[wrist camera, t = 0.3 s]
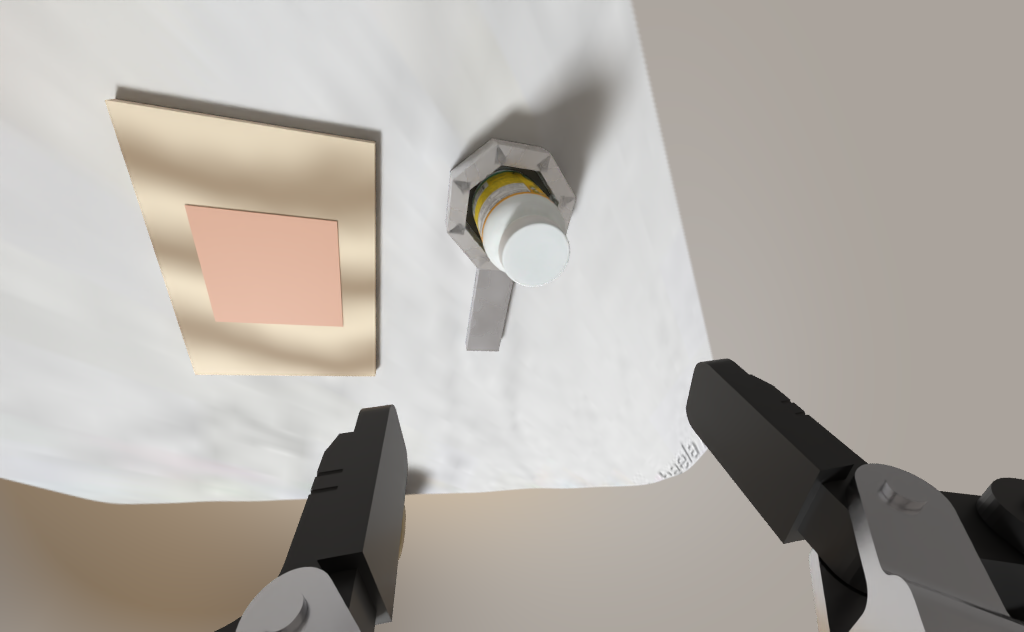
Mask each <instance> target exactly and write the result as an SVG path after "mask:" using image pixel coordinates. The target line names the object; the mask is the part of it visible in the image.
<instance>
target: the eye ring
mask: <svg viewBox="0 0 1024 632" xmlns="http://www.w3.org/2000/svg"><path fill="white" fill-rule="evenodd" d="M501 165H504V166H511V167H517V168H523V169H529V170H535V171H536V172H537V173H538V175H539V177H540V178H541V180H542V182H543V183H544V185H545V186H546V188H547V190H548V191H549V199H550V200H551V201H552V202H553V203H554V204H555V205H556V206H557V207H558V209H559V210H560V212H561V214H562V215H563V218H564V221H565V225H566V233H567V229H568V226H569V222H570V218H571V215H572V211H573V207H574V204H575V200H576V197H575V195H574V193H573V192H572V190H571V188H570V186H569V185H568V183H567V181H566V179H565V178H564V176H563V174H562V172H561V171H560V169H559V167H558V165H557V164H556V162H555V160H554V158H553V157H552V155H551V153H549V152H548V151H546V150H545V149H543V148H542V147H538V146H532V145H527V144H521V143H516V142H510V141H504V140H499V139H493V138H491V139H490V140H489V141H488V142H486V143H485V144H484V145H483V146H481V147H480V148H479V149H478V150H476V151H475V152H474V153H473V154H471V155H470V156H469V157H467V158H466V159H465V160H464V161H462V162H461V163H460V164H459V165H457V166H456V167H455V168H454V169H452V170H451V171H450V180H449V190H448V201H447V211H446V228H447V233H448V234H449V235H450V237H451V238H452V239H453V240H454V241H455V242H456V243H457V245H458V246H459V247H460V248H461V249H462V250H463V252H464V253H465V254H466V255H467V256H468V257H469V259H470V260H471V261H472V262H473V263H474V264H475V266H476V267H477V270H476V277H475V284H474V290H473V297H472V303H471V310H470V317H469V323H468V330H467V336H466V349H467V351H499V346H500V342H501V337H502V332H503V328H504V323H505V318H506V313H507V309H508V304H509V299H510V294H511V290H512V285H513V280H512V279H511V278H510V277H509V276H508V275H507V274H506V272H503V271H502V270H500V269H499V268H497V267H496V266H495V265H494V264H493V263H492V262H491V261H490V259H489V258H488V256H487V254H486V252H485V249H484V246H483V243H482V241H481V240H480V238H479V237H478V236H477V235H476V233H475V232H474V231H473V230H472V228H471V227H470V226H469V225H468V223H467V222H466V215H467V207H468V199H469V191H470V189H472V188H473V187H474V186H475V185H477V184H478V183H479V182H481V181H482V180H483V179H484V178H486V177H487V176H488V175H490V174H491V173H492V172H493V171H495V170H496V169H497V168H499V167H500V166H501Z"/></svg>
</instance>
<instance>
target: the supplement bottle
mask: <svg viewBox="0 0 1024 632" xmlns="http://www.w3.org/2000/svg"><path fill="white" fill-rule="evenodd" d="M472 213H473V217H474V219H475V222H476V225H477V228H478V231H479V234H480V237H481V240H482V243H483V246H484V249H485V252H486V254H487V256H488V258H489V259H490V261H491V262H492V263H493V264H494V265H495V266H496V267H497V268H499V269H500V270H502V271H503V272H506V274H507V275H508V276H509V277H510V278H511V279H512V280H513V281H514V282H516V283H518V284H520V285H523V286H529V287H536V286H541V285H544V284H547V283H549V282H551V281H553V280H554V279H555V278H557V277H558V276H559V275H560V274H561V273H562V272H563V270H564V269H565V267H566V265H567V263H568V260H569V256H570V246H569V242H568V239H567V237H566V225H565V221H564V218H563V215H562V214H561V212H560V210H559V209H558V207H557V206H556V205H555V204H554V203H553V202H552V201H551V200H550V199H549V197H548V196H547V195H546V194H545V193H544V192H543V191H542V190H541V189H540V188H539V187H538V186H537V185H536V184H535V183H534V182H533V181H532V180H531V179H530V178H529V177H527V176H526V175H524V174H523V173H521V172H519V171H516V170H511V169H505V170H499V171H496V172H494V173H491V174H490V175H488V176H487V177H486V178H484V179H483V180H482V181H481V182H480V184H479V185H478V187H477V188H476V190H475V192H474V195H473V199H472Z"/></svg>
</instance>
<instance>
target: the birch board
mask: <svg viewBox="0 0 1024 632" xmlns="http://www.w3.org/2000/svg"><path fill="white" fill-rule="evenodd" d="M105 102H106V105H107V108H108V111H109V114H110V117H111V120H112V123H113V126H114V129H115V133H116V136H117V139H118V142H119V145H120V148H121V151H122V154H123V157H124V160H125V163H126V166H127V169H128V172H129V175H130V178H131V181H132V184H133V187H134V190H135V193H136V196H137V199H138V202H139V205H140V208H141V211H142V214H143V217H144V220H145V224H146V227H147V230H148V233H149V236H150V239H151V242H152V245H153V248H154V251H155V254H156V257H157V260H158V263H159V266H160V269H161V272H162V275H163V278H164V281H165V284H166V287H167V290H168V293H169V296H170V299H171V302H172V305H173V308H174V311H175V315H176V318H177V321H178V324H179V327H180V330H181V333H182V336H183V339H184V342H185V345H186V348H187V351H188V354H189V357H190V360H191V363H192V366H193V369H194V372H195V375H282V376H375V374H376V142H375V141H369V140H363V139H357V138H351V137H345V136H339V135H332V134H326V133H320V132H314V131H308V130H302V129H296V128H290V127H283V126H277V125H271V124H265V123H259V122H253V121H247V120H241V119H235V118H228V117H222V116H216V115H210V114H204V113H198V112H192V111H186V110H179V109H173V108H167V107H161V106H155V105H149V104H143V103H137V102H130V101H124V100H118V99H109V100H105Z"/></svg>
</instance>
